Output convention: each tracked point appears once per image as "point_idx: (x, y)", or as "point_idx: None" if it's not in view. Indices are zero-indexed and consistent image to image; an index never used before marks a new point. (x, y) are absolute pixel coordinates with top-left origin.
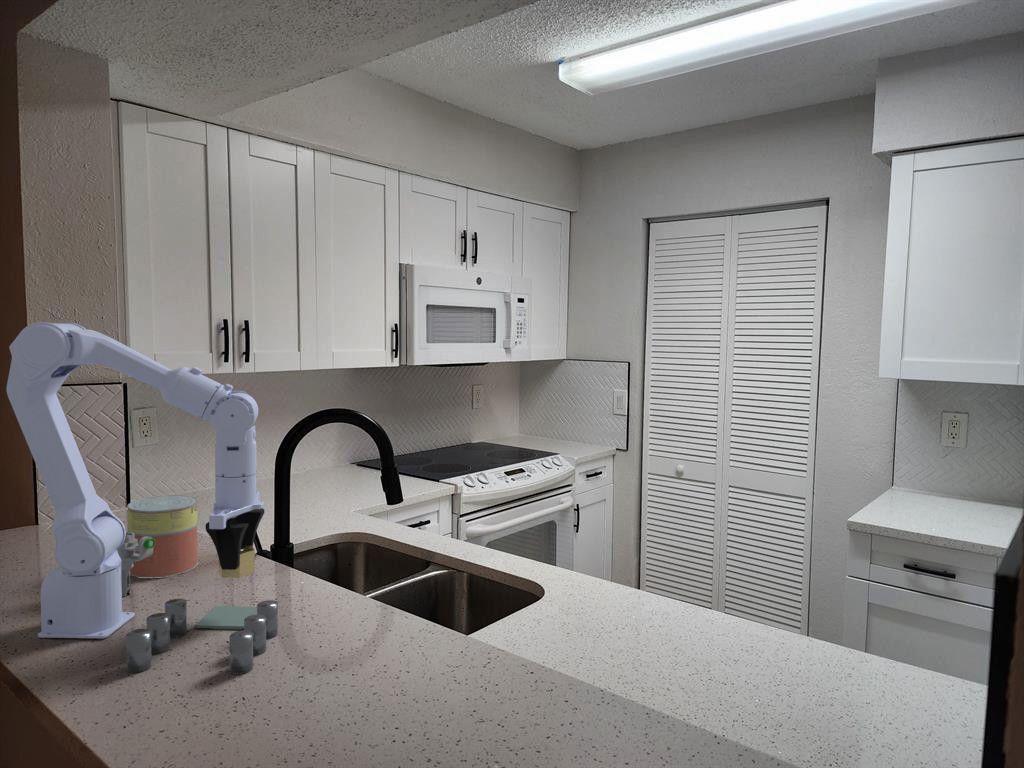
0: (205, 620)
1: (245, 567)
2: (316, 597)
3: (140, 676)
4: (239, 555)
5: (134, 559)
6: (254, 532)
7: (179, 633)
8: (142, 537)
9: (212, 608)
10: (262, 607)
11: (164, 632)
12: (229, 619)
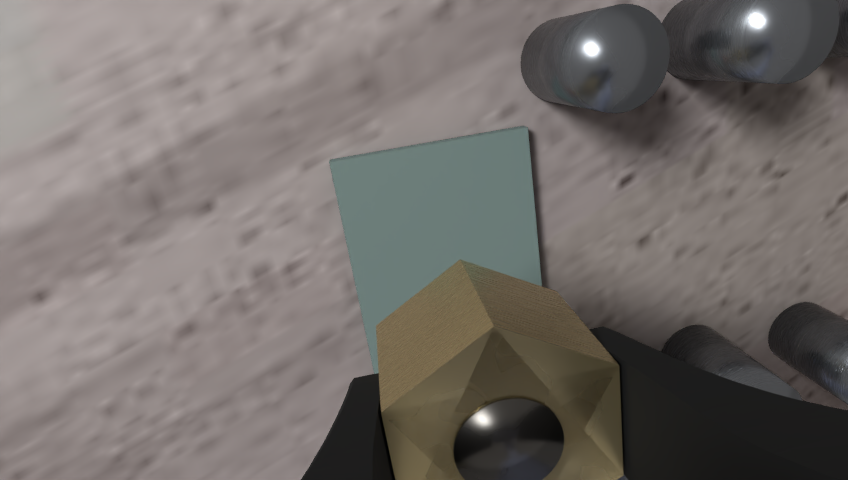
0: None
1: (535, 301)
2: (120, 21)
3: (844, 295)
4: (631, 358)
5: None
6: (353, 476)
7: None
8: None
9: None
10: (663, 64)
11: (753, 359)
12: (483, 265)
